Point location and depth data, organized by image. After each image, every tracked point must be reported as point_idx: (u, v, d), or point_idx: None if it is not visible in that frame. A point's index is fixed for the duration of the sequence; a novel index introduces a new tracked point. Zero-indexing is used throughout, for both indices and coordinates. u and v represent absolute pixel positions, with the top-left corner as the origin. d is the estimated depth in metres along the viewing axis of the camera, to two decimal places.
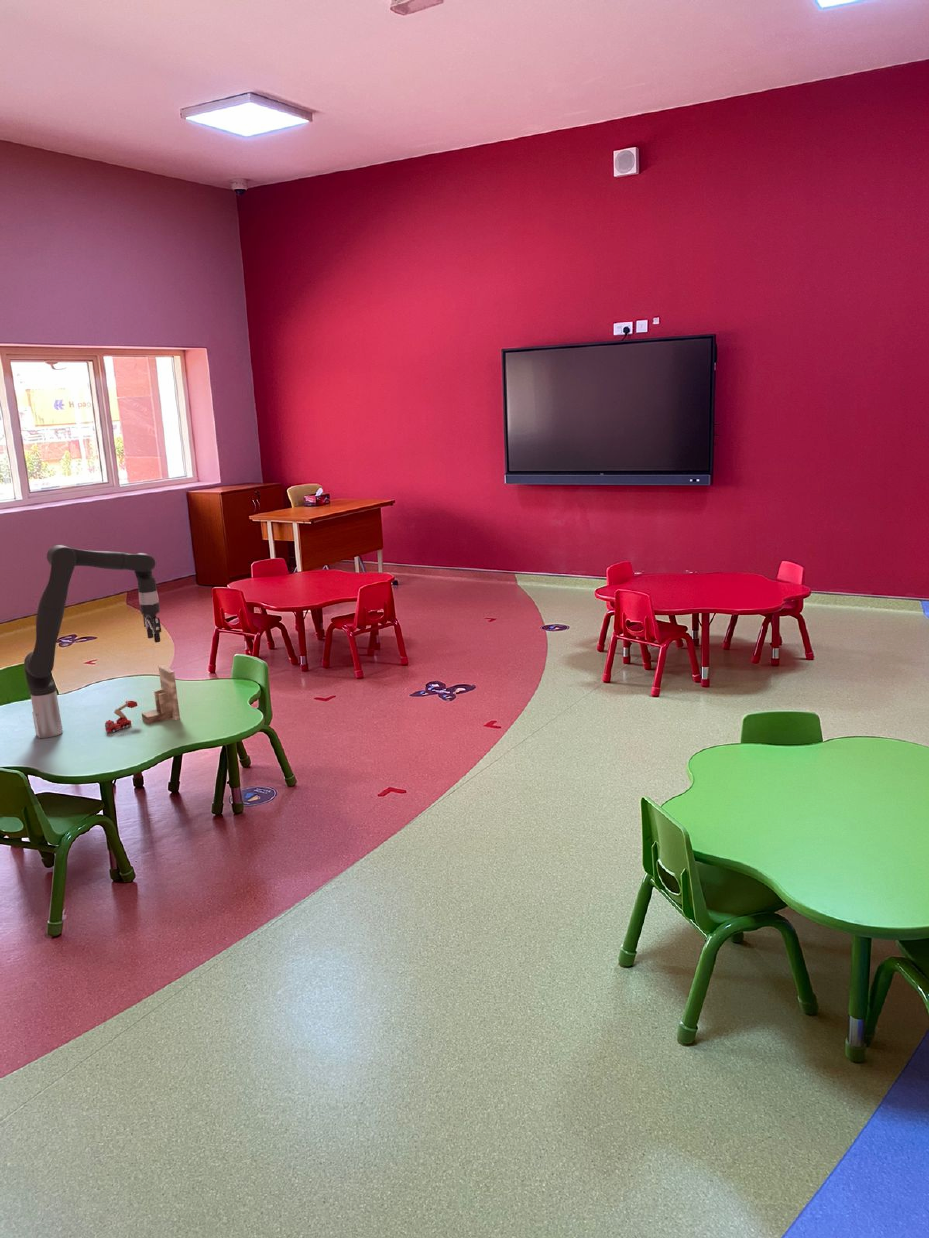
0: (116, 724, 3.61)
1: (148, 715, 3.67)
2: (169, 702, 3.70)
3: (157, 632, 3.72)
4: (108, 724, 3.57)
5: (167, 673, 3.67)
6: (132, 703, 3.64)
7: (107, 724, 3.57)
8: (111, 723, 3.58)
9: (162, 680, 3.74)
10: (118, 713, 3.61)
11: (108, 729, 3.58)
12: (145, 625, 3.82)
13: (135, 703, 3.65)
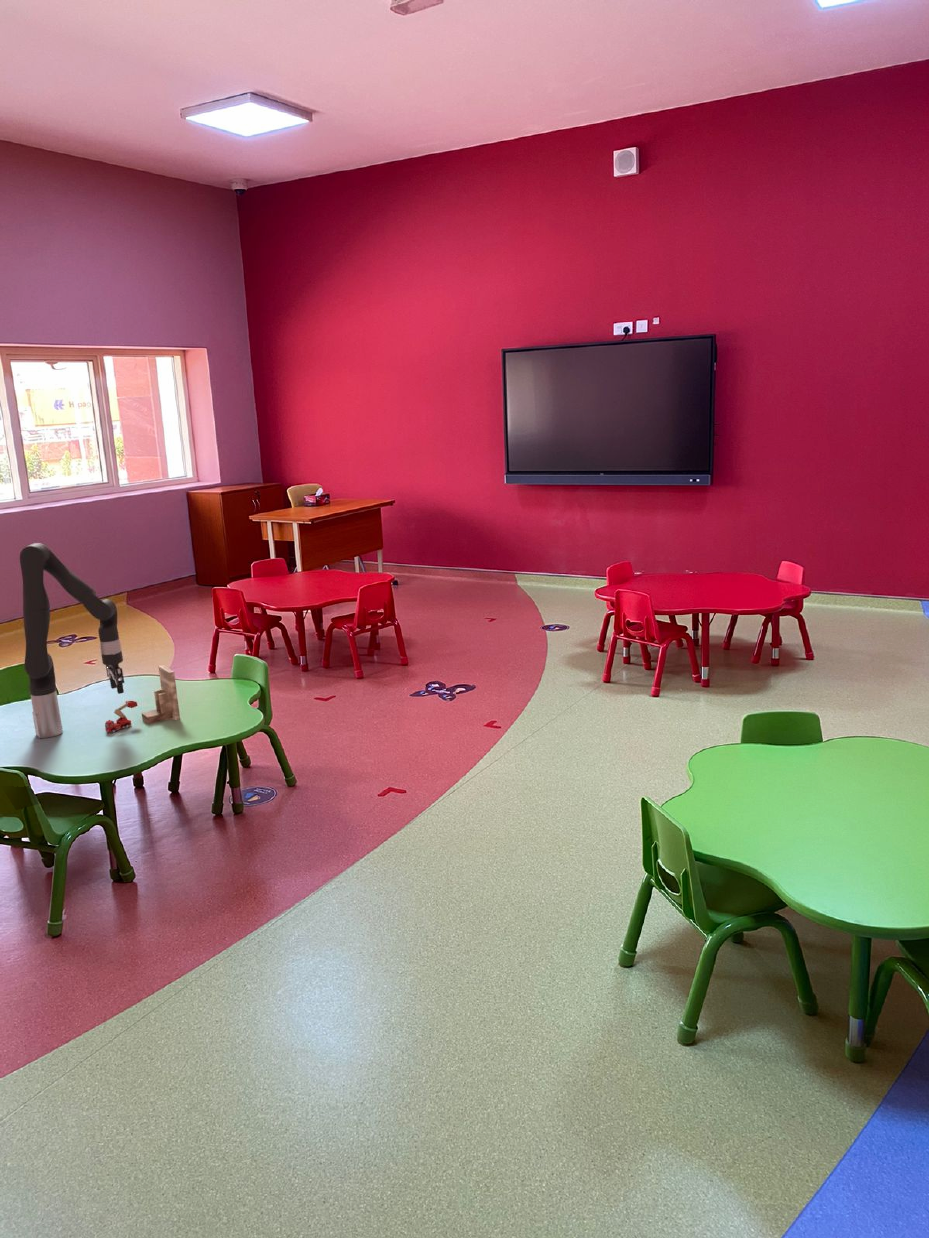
0: (116, 724, 3.61)
1: (148, 715, 3.67)
2: (169, 702, 3.70)
3: (120, 683, 3.53)
4: (108, 724, 3.57)
5: (167, 673, 3.67)
6: (132, 703, 3.64)
7: (107, 724, 3.57)
8: (111, 723, 3.58)
9: (162, 680, 3.74)
10: (118, 713, 3.61)
11: (108, 729, 3.58)
12: (108, 674, 3.63)
13: (135, 703, 3.65)
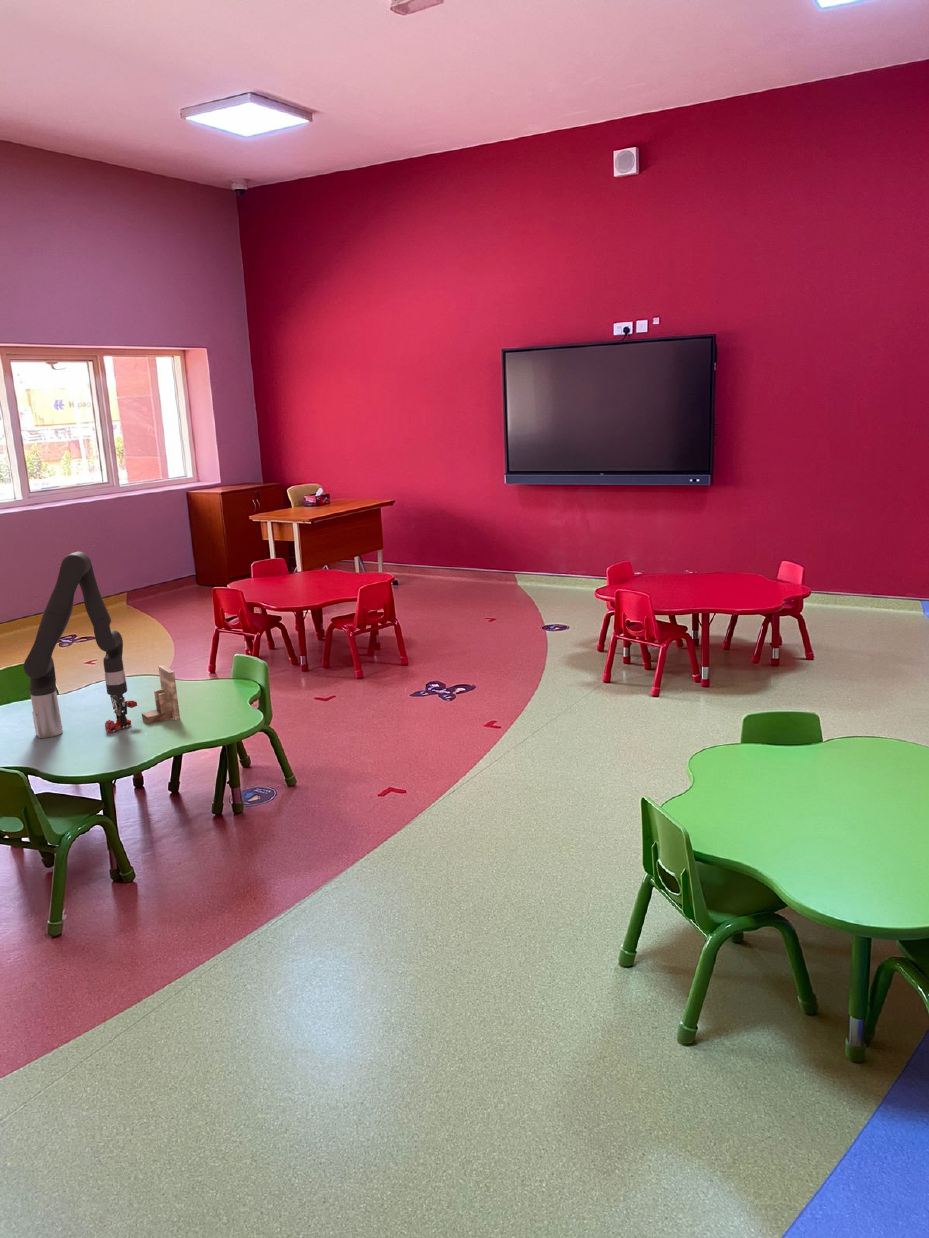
0: (116, 724, 3.61)
1: (148, 715, 3.67)
2: (169, 702, 3.70)
3: (123, 714, 3.58)
4: (108, 724, 3.57)
5: (167, 673, 3.67)
6: (132, 703, 3.64)
7: (107, 724, 3.57)
8: (111, 723, 3.58)
9: (162, 680, 3.74)
10: (118, 713, 3.61)
11: (108, 729, 3.58)
12: (114, 707, 3.64)
13: (135, 703, 3.65)
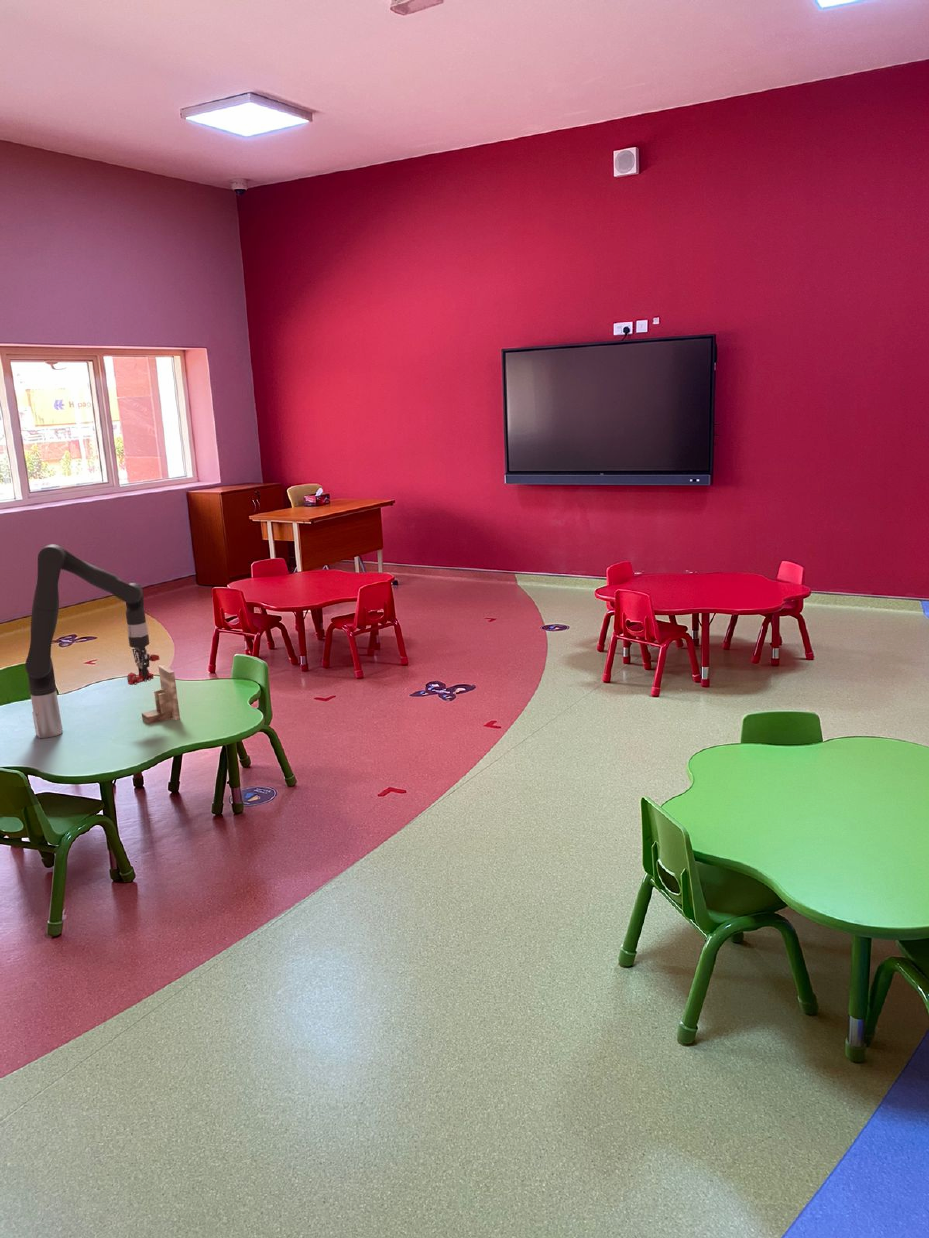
0: (138, 677, 3.63)
1: (148, 715, 3.67)
2: (169, 702, 3.70)
3: (145, 667, 3.60)
4: (130, 676, 3.60)
5: (167, 673, 3.67)
6: (154, 656, 3.66)
7: (129, 676, 3.60)
8: (133, 675, 3.60)
9: (162, 680, 3.74)
10: (140, 666, 3.63)
11: (130, 681, 3.60)
12: (136, 660, 3.66)
13: (157, 657, 3.67)
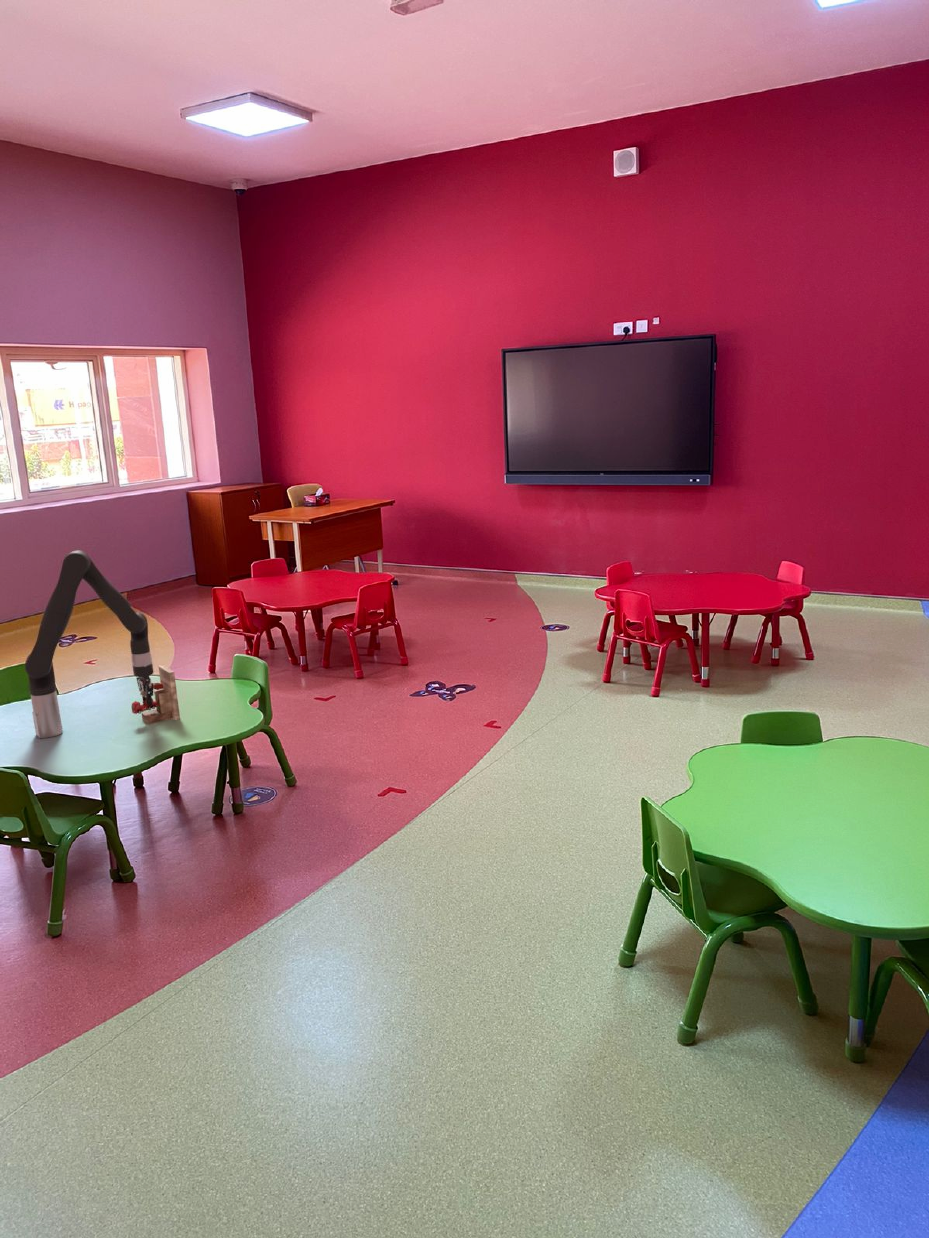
0: (142, 705, 3.66)
1: (148, 715, 3.67)
2: (169, 702, 3.70)
3: (149, 696, 3.63)
4: (134, 705, 3.63)
5: (167, 673, 3.67)
6: (158, 685, 3.69)
7: (133, 705, 3.63)
8: (137, 704, 3.63)
9: (162, 680, 3.74)
10: (144, 695, 3.66)
11: (134, 710, 3.63)
12: (140, 689, 3.69)
13: (161, 685, 3.70)
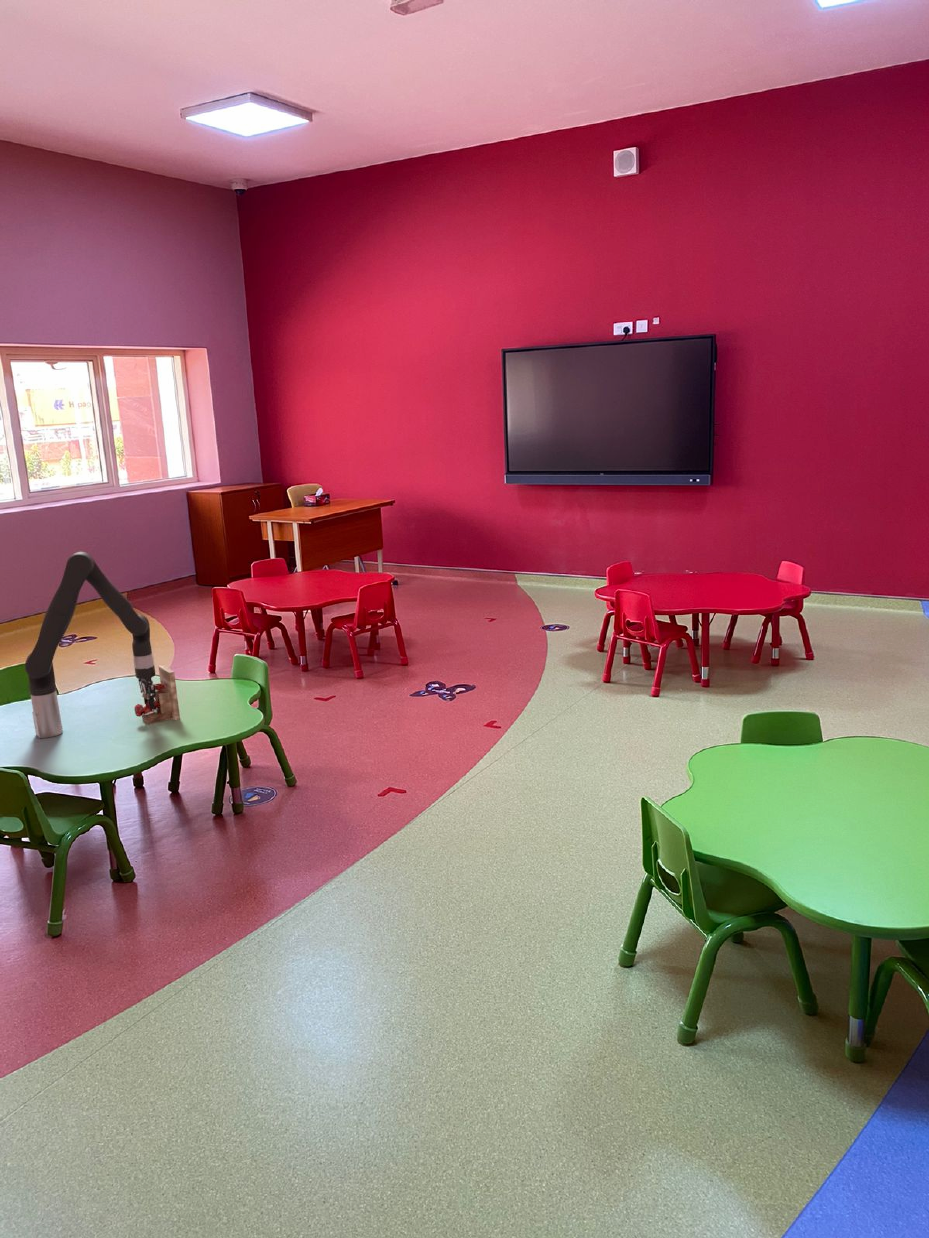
0: (145, 707, 3.67)
1: (148, 715, 3.67)
2: (169, 702, 3.70)
3: (151, 698, 3.63)
4: (137, 708, 3.64)
5: (167, 673, 3.67)
6: (159, 686, 3.69)
7: (136, 708, 3.64)
8: (140, 707, 3.64)
9: (162, 680, 3.74)
10: (146, 697, 3.67)
11: (137, 713, 3.64)
12: (142, 690, 3.70)
13: (162, 686, 3.70)
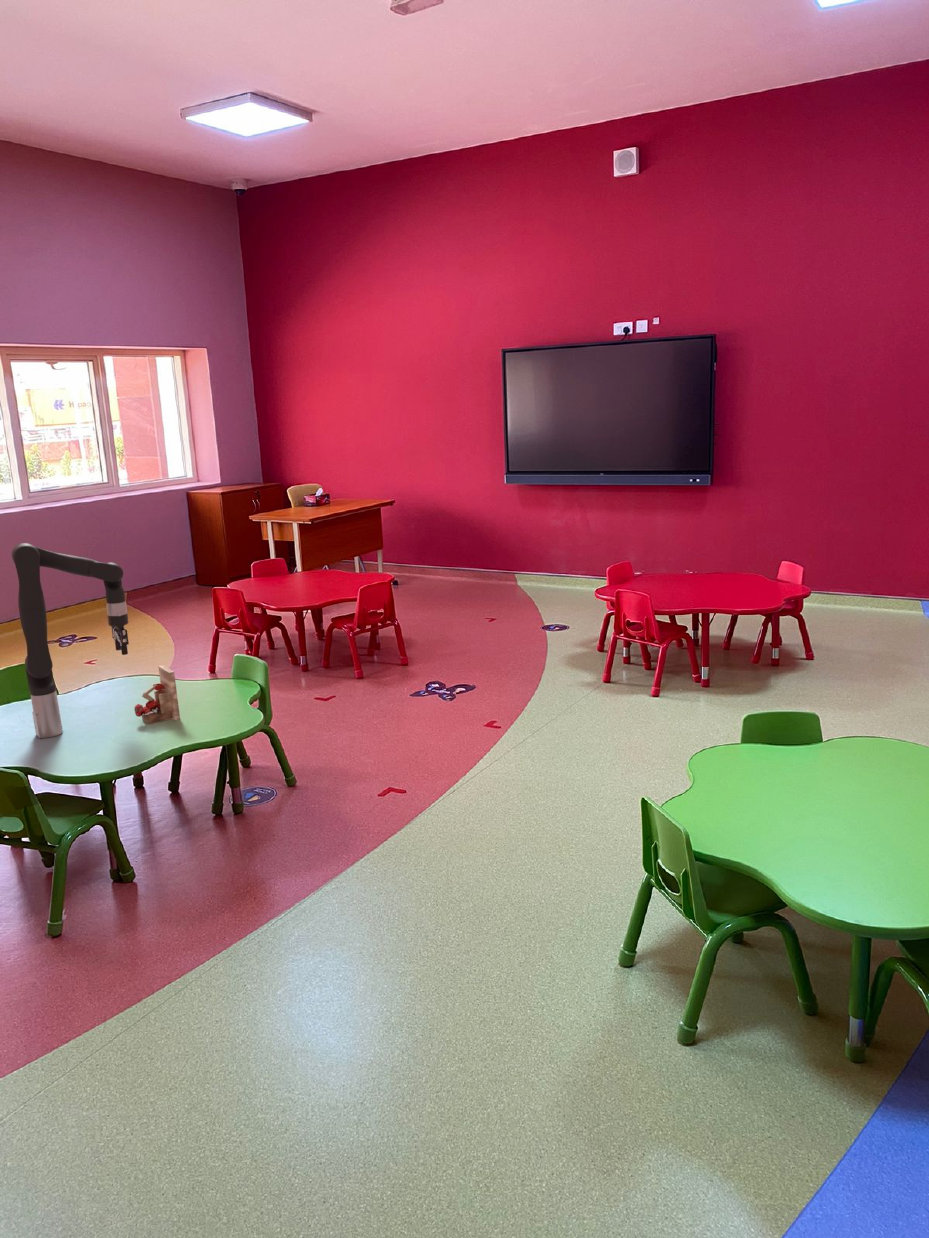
0: (145, 708, 3.67)
1: (148, 715, 3.67)
2: (169, 702, 3.70)
3: (124, 644, 3.61)
4: (137, 708, 3.64)
5: (167, 673, 3.67)
6: (159, 686, 3.69)
7: (136, 708, 3.64)
8: (140, 707, 3.64)
9: (162, 680, 3.74)
10: (146, 697, 3.67)
11: (137, 713, 3.64)
12: (113, 636, 3.71)
13: (162, 686, 3.70)
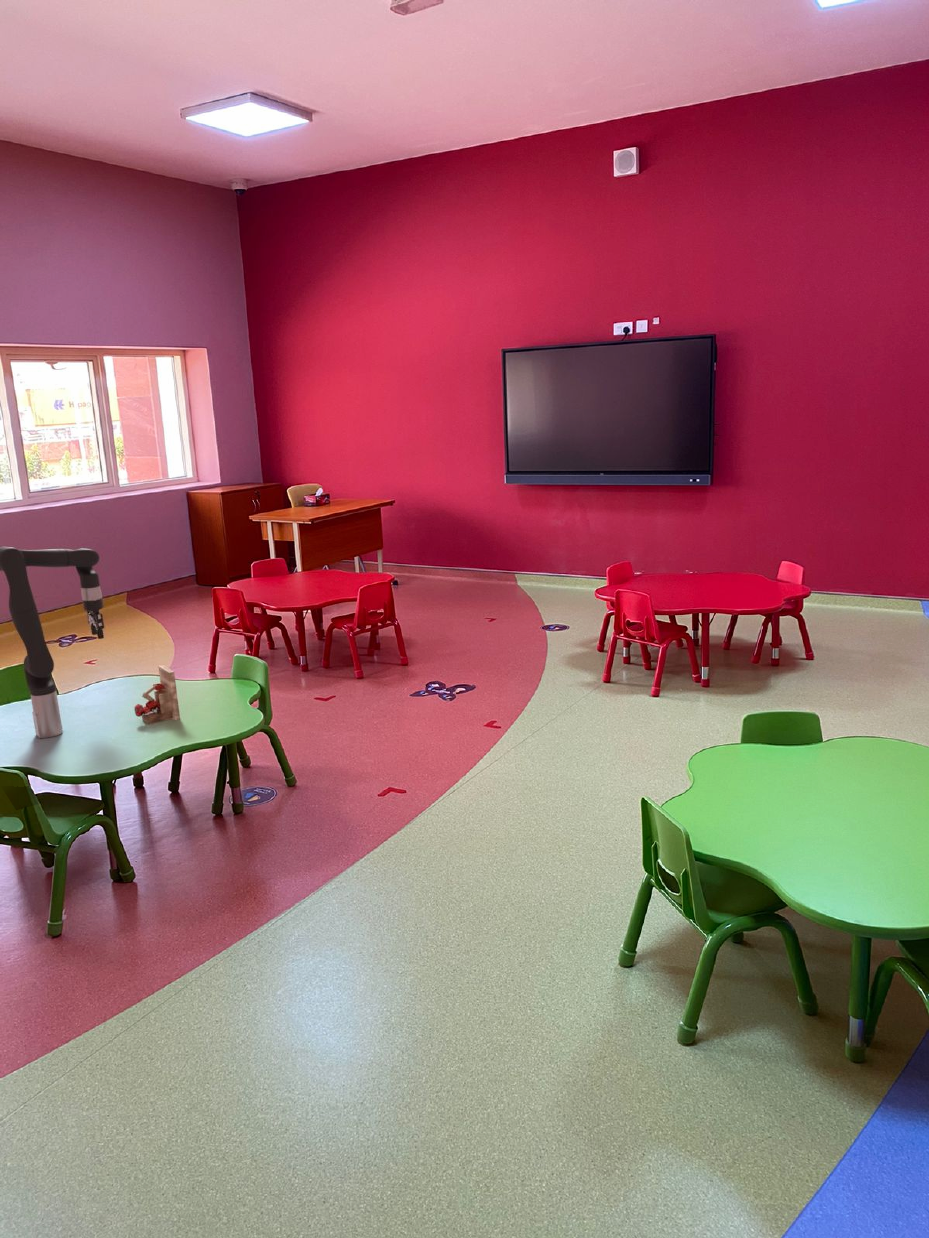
0: (145, 708, 3.67)
1: (148, 715, 3.67)
2: (169, 702, 3.70)
3: (100, 628, 3.66)
4: (137, 708, 3.64)
5: (167, 673, 3.67)
6: (159, 686, 3.69)
7: (136, 708, 3.64)
8: (140, 707, 3.64)
9: (162, 680, 3.74)
10: (146, 697, 3.67)
11: (137, 713, 3.64)
12: (89, 621, 3.76)
13: (162, 686, 3.70)
